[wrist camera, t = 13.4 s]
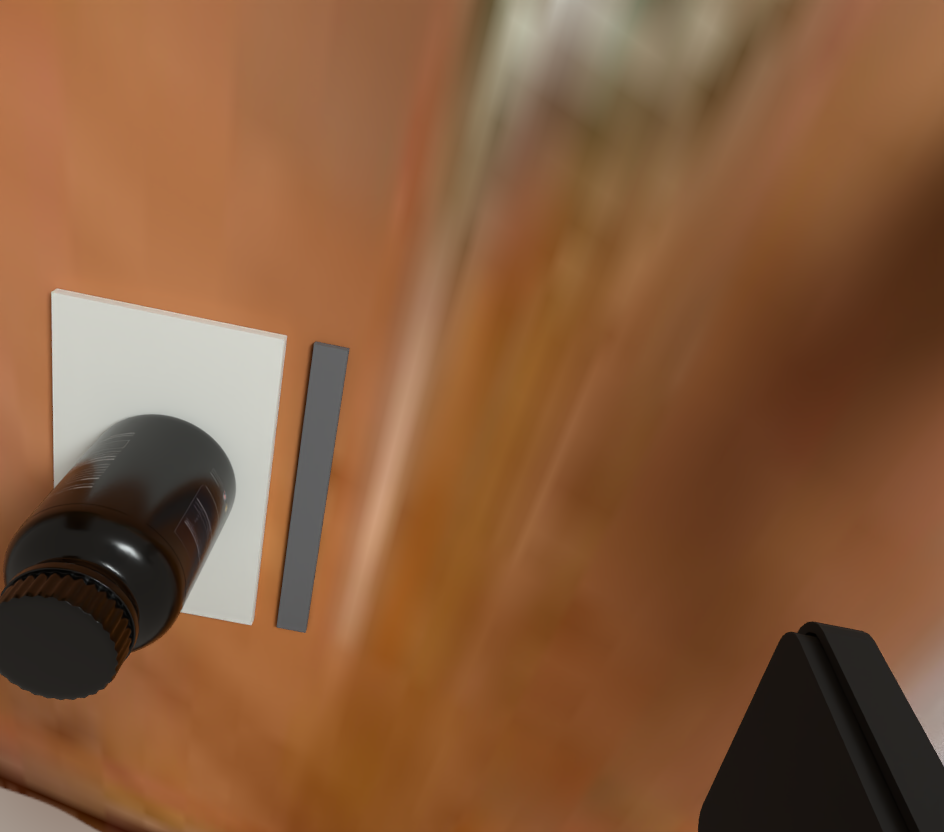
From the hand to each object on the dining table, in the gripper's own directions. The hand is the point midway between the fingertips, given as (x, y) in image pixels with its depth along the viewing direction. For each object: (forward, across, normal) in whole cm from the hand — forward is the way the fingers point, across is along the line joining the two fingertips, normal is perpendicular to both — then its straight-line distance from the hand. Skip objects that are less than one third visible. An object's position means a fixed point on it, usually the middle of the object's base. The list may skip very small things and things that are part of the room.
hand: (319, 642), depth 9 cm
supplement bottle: (+28, +11, +17) cm, 34 cm away
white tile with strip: (+28, +10, +17) cm, 34 cm away
